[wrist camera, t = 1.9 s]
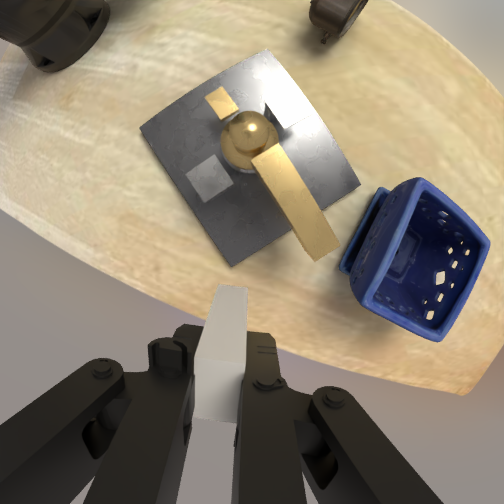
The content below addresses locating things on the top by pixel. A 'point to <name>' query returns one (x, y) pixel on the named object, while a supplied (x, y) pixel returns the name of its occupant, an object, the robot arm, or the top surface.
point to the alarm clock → (335, 15)
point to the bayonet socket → (238, 180)
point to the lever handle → (273, 172)
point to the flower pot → (415, 258)
